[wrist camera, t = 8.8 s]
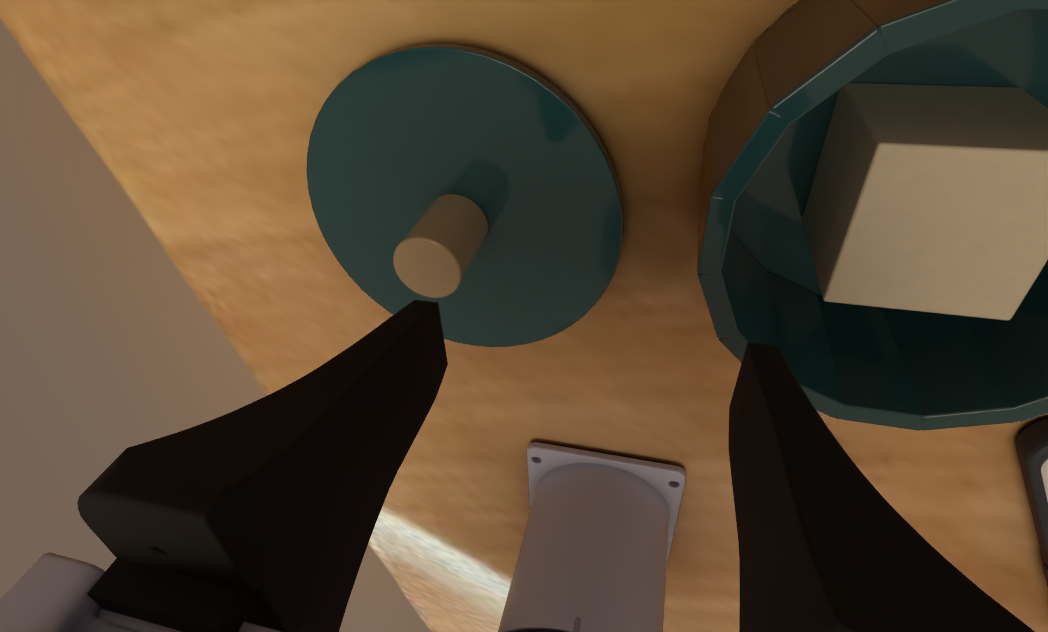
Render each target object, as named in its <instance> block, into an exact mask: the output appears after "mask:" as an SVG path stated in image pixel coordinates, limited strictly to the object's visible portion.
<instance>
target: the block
mask: <svg viewBox="0 0 1048 632" xmlns="http://www.w3.org/2000/svg"><path fill="white" fill-rule="evenodd" d="M802 222H803V226H804V230H805V234H806V237H807V241H808V245H809V248H810V252H811V256H812V260H813V263H814V267H815V271H816V275H817V278H818V282H819V286H820V289H821V293H822V297H823V300H824V301H826V302H835V303H845V304H854V305H864V306H874V307H883V308H893V309H903V310H912V311H922V312H932V313H941V314H951V315H960V316H970V317H980V318H989V319H999V320H1010V319H1011V318H1012V317H1013V315H1014V313H1015V312H1016V310H1017V309H1018V307H1019V305H1020V304H1021V302H1022V301H1023V299H1024V297H1025V296H1026V294H1027V292H1028V291H1029V289H1030V288H1031V286H1032V284H1033V283H1034V281H1035V280H1036V278H1037V276H1038V275H1039V273H1040V272H1041V270H1042V268H1043V267H1044V265H1045V263H1046V262H1047V260H1048V108H1047V107H1045V106H1044V105H1043V104H1041V103H1040V102H1039V101H1037V100H1036V99H1034V98H1033V97H1032V96H1030V95H1029V94H1028V93H1026V92H1025V91H1023V90H1022V89H1020V88H1013V87H978V86H942V85H907V84H871V83H847V84H846V85H845V86H843V87H842V88H840V90H839V93H838V97H837V100H836V104H835V107H834V111H833V114H832V117H831V121H830V124H829V128H828V131H827V135H826V138H825V141H824V145H823V148H822V152H821V155H820V159H819V162H818V165H817V169H816V172H815V176H814V179H813V183H812V186H811V189H810V193H809V196H808V200H807V203H806V207H805V210H804V213H803V217H802Z"/></svg>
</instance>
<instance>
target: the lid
mask: <svg viewBox="0 0 1048 632" xmlns="http://www.w3.org/2000/svg"><path fill="white" fill-rule="evenodd" d="M307 180H308V190H309V195H310V199H311V203H312V208H313V211H314V214H315V217H316V220H317V222H318V225H319V228H320V230H321V232H322V234H323V236H324V238H325V240H326V242H327V244H328V246H329V247H330V249H331V251H332V252H333V254H334V256H335V257H336V259H337V260H338V262H339V263H340V264H341V266H342V267H343V268H344V270H345V271H346V272H347V273H348V275H349V276H350V277H351V278H352V279H353V280H354V281H355V282H356V284H357V285H358V286H359V287H360V288H361V289H362V290H363V291H364V292H365V293H367V294H368V295H369V296H370V297H371V298H372V299H373V300H374V301H375V302H377V303H378V304H379V305H381V306H382V307H383V308H385V309H386V310H387V311H389V312H390V313H392V314H393V315H394V314H396V313H397V312H398V311H400V310H401V309H402V308H404V307H405V306H407V305H408V304H409V303H411V302H412V301H414V300H423V301H430V302H438V304H439V311H440V317H441V324H442V330H443V337H444V339H447V340H450V341H454V342H458V343H463V344H469V345H475V346H487V347H506V346H515V345H523V344H527V343H531V342H535V341H539V340H542V339H545V338H547V337H550V336H552V335H555V334H557V333H559V332H561V331H562V330H564V329H566V328H568V327H569V326H571V325H572V324H574V323H575V322H576V321H578V320H579V319H580V318H582V317H583V316H584V315H585V314H586V313H587V312H588V311H589V310H590V309H591V308H592V307H593V306H594V305H595V304H596V303H597V301H598V300H599V299H600V297H601V296H602V294H603V293H604V292H605V290H606V289H607V287H608V285H609V283H610V280H611V278H612V276H613V274H614V272H615V269H616V266H617V263H618V259H619V256H620V252H621V246H622V240H623V233H624V208H623V201H622V194H621V188H620V185H619V182H618V178H617V175H616V171H615V168H614V166H613V164H612V161H611V159H610V157H609V155H608V152H607V150H606V148H605V146H604V144H603V143H602V141H601V140H600V138H599V136H598V135H597V133H596V131H595V130H594V128H593V127H592V125H591V124H590V123H589V122H588V120H587V119H586V118H585V117H584V115H583V114H582V113H581V112H580V110H579V109H578V108H577V107H576V106H575V105H574V104H573V103H572V102H571V101H570V100H569V99H568V98H567V97H566V96H565V95H564V94H563V93H562V92H561V91H560V90H558V89H557V88H556V87H555V86H553V85H552V84H551V83H549V82H548V81H546V80H545V79H544V78H542V77H541V76H540V75H538V74H537V73H535V72H533V71H532V70H530V69H528V68H526V67H524V66H523V65H521V64H519V63H517V62H515V61H513V60H511V59H508V58H506V57H503V56H501V55H498V54H495V53H493V52H490V51H486V50H482V49H478V48H474V47H470V46H466V45H455V44H444V43H436V44H419V45H413V46H409V47H404V48H400V49H395V50H393V51H390V52H388V53H385V54H383V55H380V56H378V57H376V58H374V59H372V60H371V61H369V62H367V63H366V64H364V65H362V66H361V67H359V68H358V69H356V70H354V71H353V72H352V73H351V74H349V75H348V76H347V77H346V78H345V79H344V80H343V81H342V82H340V83H339V84H338V85H337V87H336V88H335V89H334V90H333V92H332V93H331V94H330V95H329V97H328V98H327V99H326V101H325V103H324V105H323V106H322V108H321V110H320V112H319V114H318V116H317V118H316V121H315V124H314V127H313V130H312V132H311V136H310V141H309V147H308V153H307Z"/></svg>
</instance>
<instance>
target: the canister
mask: <svg viewBox="0 0 1048 632" xmlns="http://www.w3.org/2000/svg"><path fill="white" fill-rule="evenodd" d="M847 83H871V84H907V85H942V86H978V87H1013V88H1020V89H1022V90H1023V91H1025V92H1026V93H1028V94H1029V95H1030V96H1032V97H1033V98H1034V99H1036V100H1037V101H1039V102H1040V103H1041V104H1043V105H1044V106H1045V107H1047V108H1048V0H800V1H799V2H797V3H796V4H795V5H794V6H792V7H791V8H790V9H788V10H787V11H786V12H785V13H784V14H783V15H782V16H781V17H780V18H779V19H778V20H777V21H775V22H774V23H773V24H772V25H771V26H770V27H769V28H768V29H767V30H766V31H765V32H764V33H763V34H762V35H761V37H760V38H759V39H758V40H757V41H756V42H755V43H754V45H753V46H751V48H750V49H749V51H748V52H747V53H746V54H745V56H744V57H743V59H742V60H741V62H740V63H739V64H738V66H737V67H736V69H735V70H734V72H733V73H732V75H731V76H730V78H729V80H728V82H727V84H726V86H725V87H724V89H723V91H722V93H721V95H720V97H719V99H718V101H717V104H716V106H715V108H714V109H713V111H712V113H711V115H710V118H709V122H708V128H707V134H706V139H705V143H704V150H703V159H702V166H701V172H700V178H699V204H698V257H697V272H698V274H697V276H698V279H699V282H700V285H701V288H702V291H703V294H704V297H705V300H706V303H707V307H708V310H709V313H710V316H711V319H712V322H713V325H714V328H715V331H716V334H717V337H718V338H719V340H720V341H721V342H722V343H723V344H724V345H725V346H726V347H727V348H728V349H729V350H730V351H731V352H732V353H733V354H734V355H735V357H736V358H737V359H738V360H739V361H740V362H741V363H742V361H743V357H744V354H745V350H746V346H747V343H748V342H749V343H757V344H765V345H773V346H778V348H779V349H780V350H781V351H782V353H783V355H784V357H785V359H786V361H787V362H788V364H789V366H790V368H791V370H792V371H793V373H794V375H795V377H796V378H797V380H798V382H799V383H800V385H801V387H802V389H803V390H804V392H805V394H806V395H807V397H808V398H809V400H810V402H811V403H812V405H813V406H814V408H815V409H816V410H817V411H819V412H822V413H824V414H826V415H828V416H831V417H835V418H836V419H842V420H849V421H856V422H863V423H870V424H877V425H884V426H891V427H898V428H905V429H911V430H920V429H921V430H933V429H945V428H956V427H967V426H978V425H990V424H1001V423H1012V422H1018V421H1025V420H1028V419H1031V418H1034V417H1038V416H1041V415H1044V414H1047V413H1048V260H1047V262H1046V263H1045V265H1044V267H1043V268H1042V270H1041V272H1040V273H1039V275H1038V276H1037V278H1036V280H1035V281H1034V283H1033V284H1032V286H1031V288H1030V289H1029V291H1028V292H1027V294H1026V296H1025V297H1024V299H1023V301H1022V302H1021V304H1020V305H1019V307H1018V309H1017V310H1016V312H1015V313H1014V315H1013V317H1012V318H1011V319H1010V320H999V319H989V318H980V317H970V316H960V315H951V314H941V313H932V312H922V311H912V310H903V309H893V308H883V307H874V306H864V305H854V304H845V303H835V302H826V301H824V300H823V297H822V293H821V289H820V286H819V282H818V278H817V275H816V271H815V267H814V263H813V260H812V256H811V252H810V248H809V245H808V241H807V237H806V234H805V230H804V226H803V222H802V217H803V213H804V210H805V207H806V203H807V200H808V196H809V193H810V189H811V186H812V183H813V179H814V176H815V172H816V169H817V165H818V162H819V159H820V155H821V152H822V148H823V145H824V141H825V138H826V135H827V131H828V128H829V124H830V121H831V117H832V114H833V111H834V107H835V104H836V100H837V97H838V93H839V90H840V88H842V87H843V86H845V85H846V84H847Z"/></svg>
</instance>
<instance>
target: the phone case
mask: <svg viewBox="0 0 1048 632" xmlns="http://www.w3.org/2000/svg"><path fill="white" fill-rule="evenodd" d="M1016 448H1017V452H1018V456H1019V460H1020V464H1021V469H1022V473H1023V477H1024V481H1025V485H1026V489H1027V493H1028V497H1029V501H1030V506H1031V510H1032V514H1033V518H1034V522H1035V526H1036V530H1037V534H1038V538H1039V543H1040V547H1041V551H1042V555H1043V559H1044V563H1043V569H1044V573H1045V577H1046V581H1047V585H1048V418H1047V419H1043V420H1040V421H1038V422H1035V423H1033V424H1031V425H1030V426H1028V427H1027V428H1025V429H1024V430H1023V431H1022V432H1021V433H1020V435H1019V436H1018V438H1017V441H1016Z"/></svg>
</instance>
